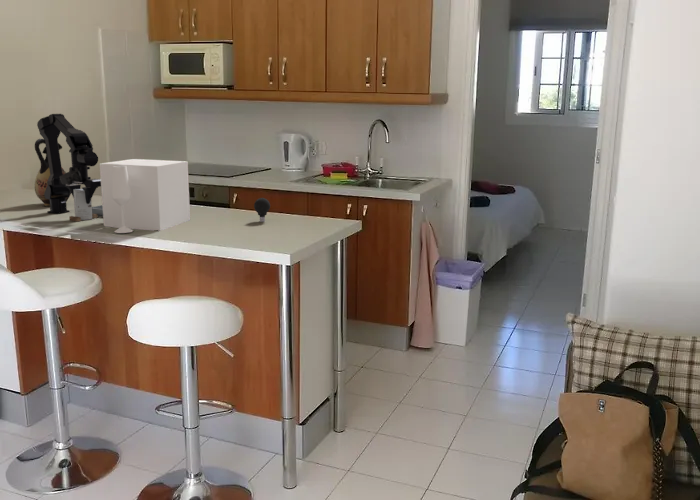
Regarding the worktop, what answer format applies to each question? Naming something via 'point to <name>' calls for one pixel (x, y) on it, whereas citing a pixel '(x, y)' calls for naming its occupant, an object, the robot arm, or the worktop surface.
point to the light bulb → (262, 208)
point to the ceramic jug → (43, 173)
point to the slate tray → (98, 210)
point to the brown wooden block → (73, 218)
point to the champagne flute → (121, 193)
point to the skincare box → (82, 205)
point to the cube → (148, 194)
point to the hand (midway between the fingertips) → (82, 203)
